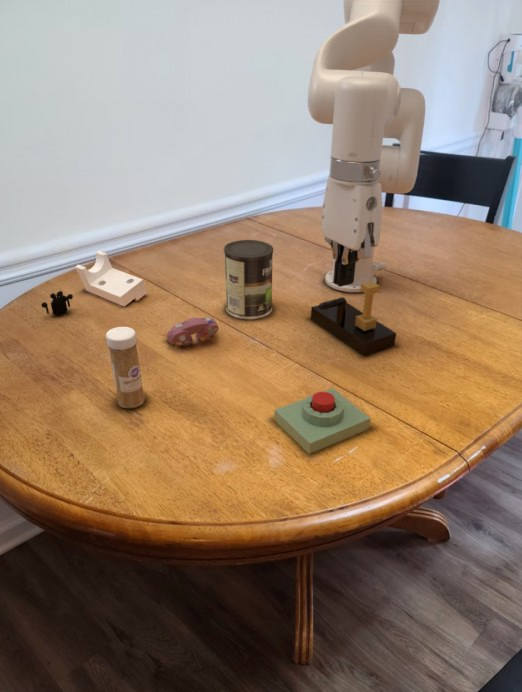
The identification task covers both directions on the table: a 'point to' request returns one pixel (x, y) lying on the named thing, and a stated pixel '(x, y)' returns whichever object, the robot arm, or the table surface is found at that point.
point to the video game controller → (192, 330)
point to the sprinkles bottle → (125, 366)
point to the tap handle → (367, 307)
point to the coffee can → (248, 279)
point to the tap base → (351, 327)
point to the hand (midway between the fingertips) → (343, 283)
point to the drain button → (323, 402)
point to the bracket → (111, 282)
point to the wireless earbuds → (58, 303)
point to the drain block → (321, 422)
